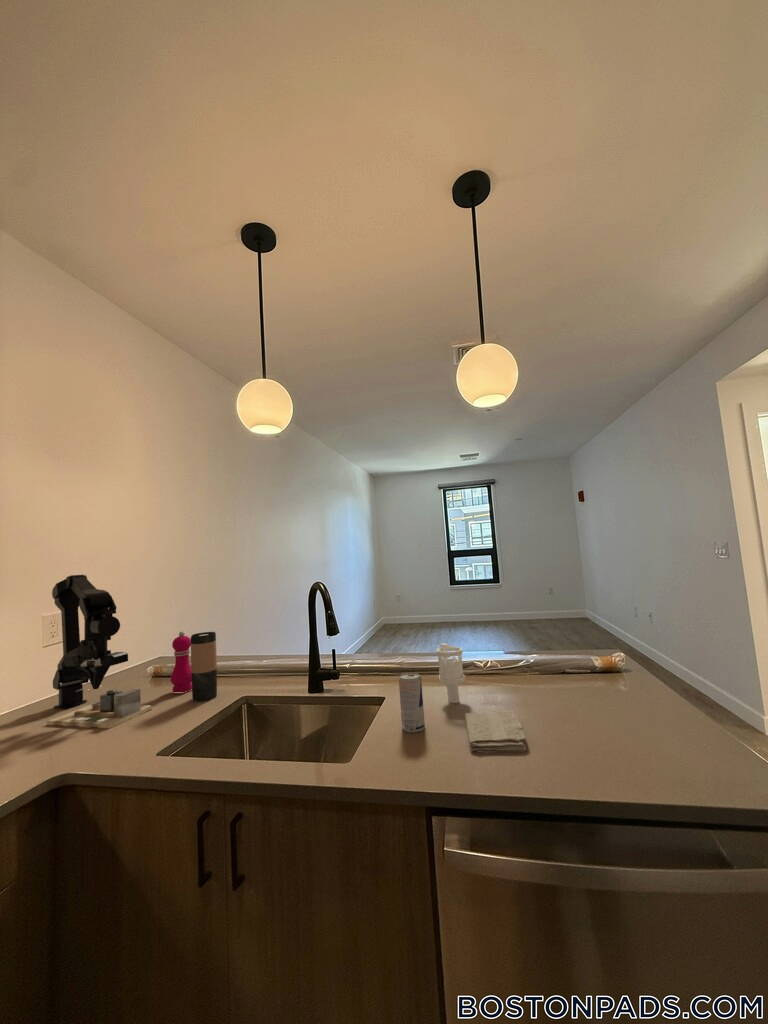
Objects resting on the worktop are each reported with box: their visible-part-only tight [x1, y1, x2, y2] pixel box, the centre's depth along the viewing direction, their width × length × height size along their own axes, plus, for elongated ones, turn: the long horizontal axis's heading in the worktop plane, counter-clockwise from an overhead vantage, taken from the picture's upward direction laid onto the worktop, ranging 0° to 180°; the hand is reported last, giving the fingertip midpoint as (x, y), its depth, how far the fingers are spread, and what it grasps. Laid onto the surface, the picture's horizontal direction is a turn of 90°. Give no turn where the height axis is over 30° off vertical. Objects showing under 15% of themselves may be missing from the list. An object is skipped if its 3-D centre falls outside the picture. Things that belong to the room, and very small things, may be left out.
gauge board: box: [46, 688, 153, 729], centre depth 123 cm, size 23×14×7 cm, turn 73°
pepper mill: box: [170, 630, 192, 693], centre depth 145 cm, size 7×7×20 cm
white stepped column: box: [436, 643, 466, 704], centre depth 116 cm, size 7×7×15 cm
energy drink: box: [398, 672, 426, 734], centre depth 100 cm, size 5×5×12 cm
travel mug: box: [190, 631, 218, 703], centre depth 135 cm, size 8×8×20 cm
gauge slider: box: [91, 688, 124, 712], centre depth 120 cm, size 4×8×6 cm, turn 163°
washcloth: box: [464, 709, 527, 753], centre depth 93 cm, size 12×18×3 cm, turn 174°
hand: (95, 688), depth 124 cm, fingers closed
